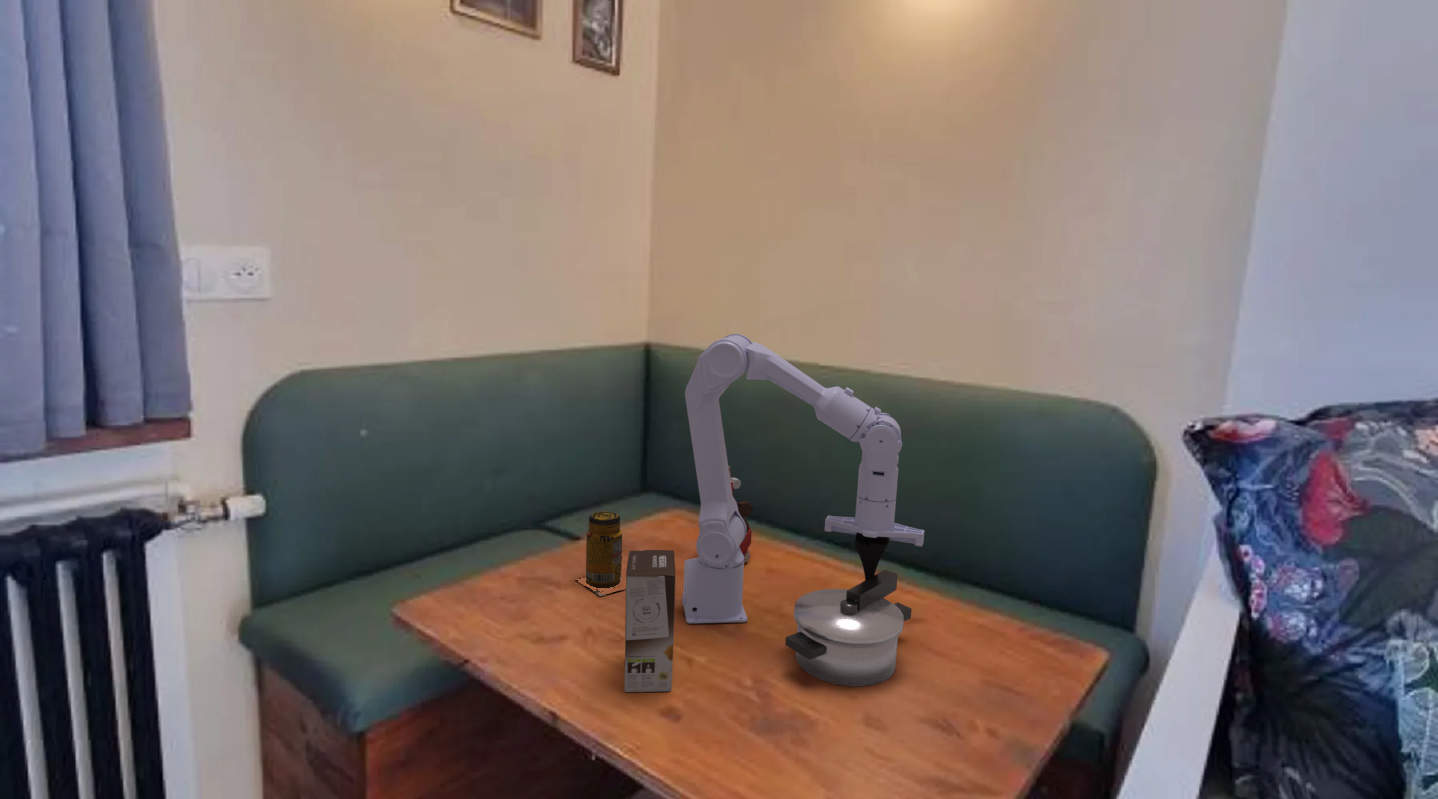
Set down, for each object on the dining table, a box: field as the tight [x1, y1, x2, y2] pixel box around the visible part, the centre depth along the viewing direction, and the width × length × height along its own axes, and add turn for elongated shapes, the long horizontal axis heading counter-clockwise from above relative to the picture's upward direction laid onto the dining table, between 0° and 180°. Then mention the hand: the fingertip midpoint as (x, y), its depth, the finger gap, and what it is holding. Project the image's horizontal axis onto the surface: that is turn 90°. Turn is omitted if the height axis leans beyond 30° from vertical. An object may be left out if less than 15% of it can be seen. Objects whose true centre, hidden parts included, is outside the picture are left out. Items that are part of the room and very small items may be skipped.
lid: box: [793, 569, 905, 646], centre depth 112 cm, size 20×15×4 cm
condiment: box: [585, 510, 623, 597], centre depth 134 cm, size 7×8×12 cm
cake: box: [728, 465, 753, 565], centre depth 146 cm, size 11×9×18 cm
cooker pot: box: [784, 602, 913, 687], centre depth 113 cm, size 22×14×6 cm, turn 128°
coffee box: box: [623, 549, 676, 693], centre depth 105 cm, size 9×6×16 cm
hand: (869, 582), depth 120 cm, fingers closed
